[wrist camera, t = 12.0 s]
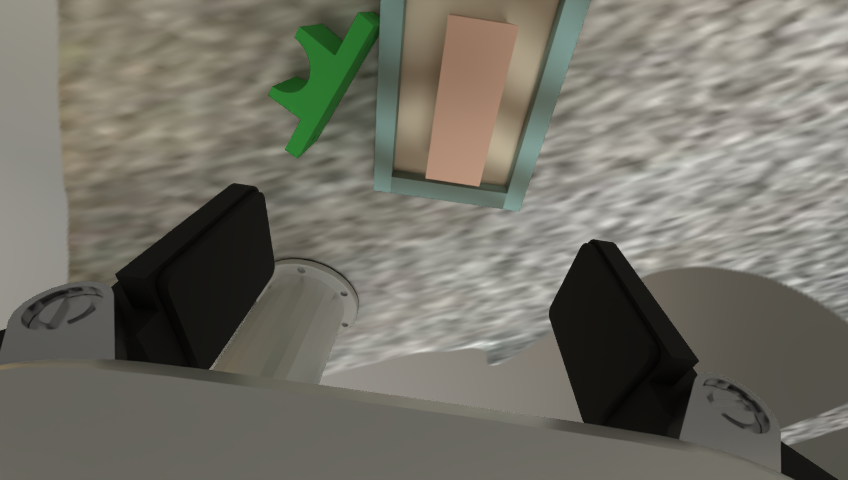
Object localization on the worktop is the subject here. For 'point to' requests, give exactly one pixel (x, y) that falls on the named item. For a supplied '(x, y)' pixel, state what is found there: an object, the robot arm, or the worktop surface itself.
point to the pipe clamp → (324, 76)
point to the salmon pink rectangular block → (468, 96)
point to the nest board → (418, 86)
